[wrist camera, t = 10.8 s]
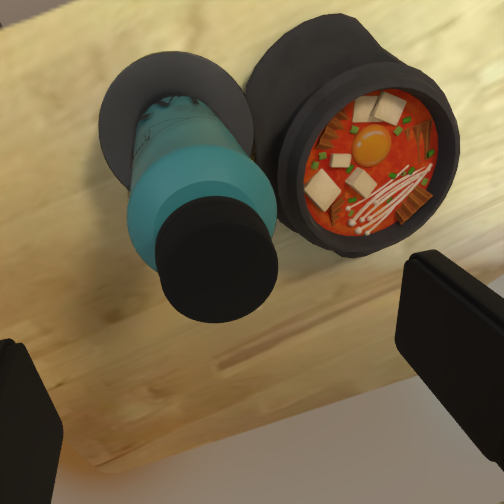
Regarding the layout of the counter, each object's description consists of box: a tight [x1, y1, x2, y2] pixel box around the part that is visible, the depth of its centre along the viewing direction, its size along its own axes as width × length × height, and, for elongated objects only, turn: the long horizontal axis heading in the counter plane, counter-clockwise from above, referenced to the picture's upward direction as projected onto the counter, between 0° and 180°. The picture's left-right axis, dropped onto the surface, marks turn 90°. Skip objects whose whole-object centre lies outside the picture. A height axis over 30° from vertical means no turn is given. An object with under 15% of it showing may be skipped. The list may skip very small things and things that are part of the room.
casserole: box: [245, 13, 460, 258], centre depth 37 cm, size 25×19×8 cm
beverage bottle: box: [127, 94, 278, 323], centre depth 21 cm, size 6×7×20 cm
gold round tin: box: [98, 51, 254, 191], centre depth 33 cm, size 11×11×7 cm
